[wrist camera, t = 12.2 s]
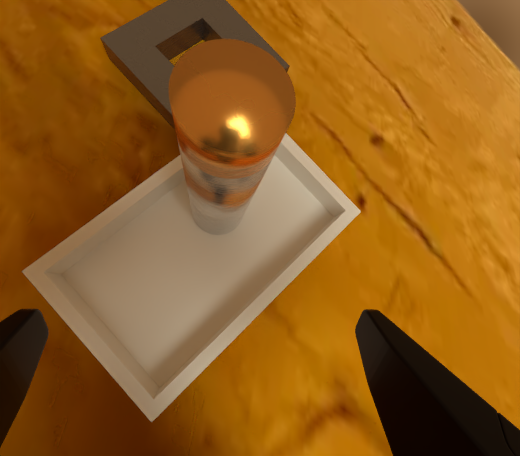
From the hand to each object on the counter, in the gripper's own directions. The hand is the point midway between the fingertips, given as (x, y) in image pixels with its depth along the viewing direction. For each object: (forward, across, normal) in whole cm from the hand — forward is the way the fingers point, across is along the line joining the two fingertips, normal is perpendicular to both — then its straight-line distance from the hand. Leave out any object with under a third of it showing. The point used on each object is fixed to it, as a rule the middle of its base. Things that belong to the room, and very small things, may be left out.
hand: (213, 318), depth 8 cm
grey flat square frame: (+22, +2, -4) cm, 22 cm away
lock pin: (+13, 0, +4) cm, 13 cm away
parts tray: (+12, 0, +6) cm, 13 cm away
